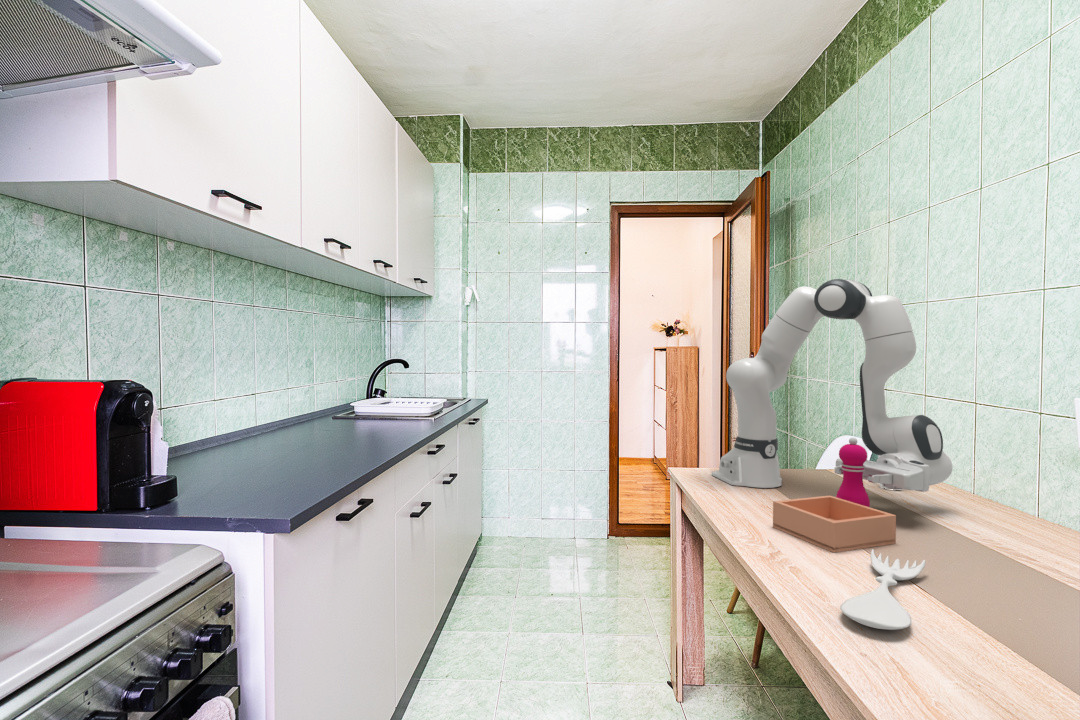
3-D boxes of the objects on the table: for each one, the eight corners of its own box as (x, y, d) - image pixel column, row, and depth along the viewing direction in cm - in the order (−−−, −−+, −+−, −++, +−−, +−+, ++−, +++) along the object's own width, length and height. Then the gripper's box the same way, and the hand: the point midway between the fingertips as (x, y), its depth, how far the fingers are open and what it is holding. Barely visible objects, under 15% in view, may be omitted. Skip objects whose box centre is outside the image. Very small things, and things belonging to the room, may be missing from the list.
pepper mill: (860, 515, 135) (861, 435, 135) (875, 525, 128) (876, 440, 128) (830, 514, 136) (831, 435, 136) (843, 524, 129) (844, 439, 128)
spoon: (927, 576, 99) (927, 557, 99) (907, 649, 74) (907, 624, 74) (870, 564, 105) (870, 546, 105) (833, 628, 80) (833, 605, 80)
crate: (772, 527, 126) (773, 501, 126) (829, 520, 132) (829, 495, 132) (833, 552, 110) (834, 523, 110) (895, 543, 116) (896, 515, 115)
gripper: (858, 451, 146) (818, 454, 142) (935, 466, 127) (892, 470, 122) (858, 474, 146) (818, 478, 142) (935, 493, 127) (891, 498, 122)
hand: (853, 474), depth 132 cm, fingers open, 8 cm apart
